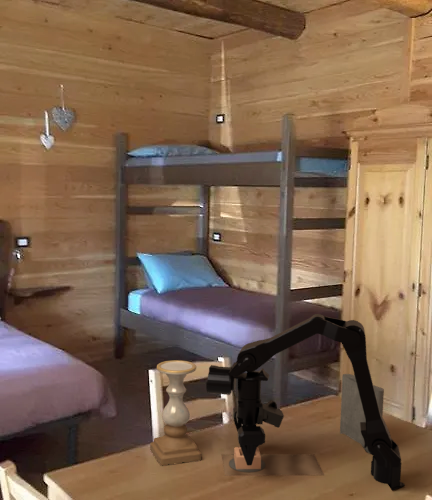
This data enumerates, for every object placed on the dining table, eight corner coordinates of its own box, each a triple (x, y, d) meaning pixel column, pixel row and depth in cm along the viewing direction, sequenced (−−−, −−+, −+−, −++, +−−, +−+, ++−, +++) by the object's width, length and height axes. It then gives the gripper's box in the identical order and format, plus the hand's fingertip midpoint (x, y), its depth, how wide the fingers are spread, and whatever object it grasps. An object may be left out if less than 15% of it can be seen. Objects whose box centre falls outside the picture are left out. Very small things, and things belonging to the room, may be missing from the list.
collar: (257, 458, 167) (258, 447, 167) (260, 469, 161) (261, 457, 161) (234, 458, 167) (234, 447, 167) (236, 469, 161) (236, 457, 161)
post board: (314, 459, 171) (315, 430, 171) (324, 481, 160) (325, 449, 159) (221, 460, 170) (222, 429, 169) (224, 481, 158) (225, 449, 157)
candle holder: (149, 449, 176) (150, 361, 173) (188, 444, 180) (190, 358, 177) (160, 466, 166) (161, 373, 163) (202, 460, 170) (203, 369, 167)
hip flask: (383, 453, 176) (386, 380, 174) (370, 456, 174) (374, 382, 172) (346, 432, 190) (349, 364, 188) (335, 434, 189) (337, 366, 187)
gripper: (287, 409, 154) (285, 473, 155) (276, 384, 172) (274, 442, 174) (239, 409, 153) (238, 474, 155) (233, 384, 172) (232, 442, 173)
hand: (247, 457), depth 164 cm, fingers open, 9 cm apart
